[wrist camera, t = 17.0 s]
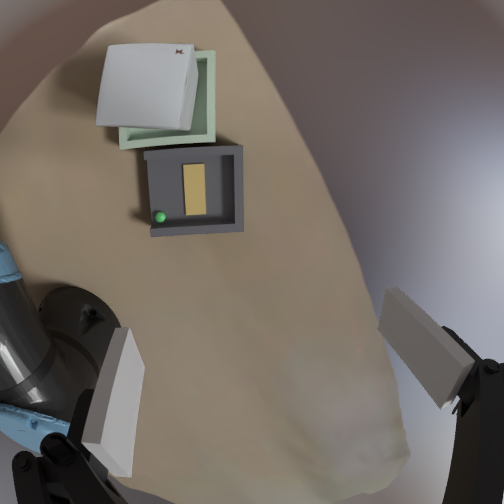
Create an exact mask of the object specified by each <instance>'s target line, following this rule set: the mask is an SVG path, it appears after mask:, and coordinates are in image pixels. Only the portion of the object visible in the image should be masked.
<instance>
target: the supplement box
mask: <svg viewBox="0 0 504 504" xmlns="http://www.w3.org/2000/svg"><path fill="white" fill-rule="evenodd" d="M198 77H199V75H198V69H197V62H196V56H195V49H194V44H181V43H140V44H118V45H109V46H108V49H107V53H106V58H105V62H104V67H103V72H102V78H101V84H100V90H99V97H98V104H97V112H96V121H95V126H107V127H125V128H140V129H163V130H184V131H188V130H190V129H191V123H192V116H193V110H194V104H195V97H196V90H197V83H198Z"/></svg>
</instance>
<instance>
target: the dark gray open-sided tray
mask: <svg viewBox="0 0 504 504" xmlns="http://www.w3.org/2000/svg"><path fill="white" fill-rule="evenodd" d="M144 160H147V169H148V184H149V197H150V208H151V218H152V226H151V228H150V234H151V237H159V236H175V235H191V234H208V233H227V232H244V205H243V146H242V145H216V146H195V147H180V148H167V149H155V150H148V151H144Z"/></svg>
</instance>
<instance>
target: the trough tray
mask: <svg viewBox="0 0 504 504" xmlns="http://www.w3.org/2000/svg"><path fill="white" fill-rule="evenodd" d="M195 56H196V62H197V69H198V75H199V77H198V83H197V90H196V97H195V104H194V110H193V116H192V123H191V129H190V130H188V131H184V130H163V129H140V128H125V127H119V146H120V150H123V149H131V148H139V147H149V146H159V145H170V144H184V143H201V142H215V50H210V51H195Z"/></svg>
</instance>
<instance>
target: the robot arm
mask: <svg viewBox="0 0 504 504" xmlns="http://www.w3.org/2000/svg"><path fill="white" fill-rule="evenodd" d="M22 277H23V276H22V273H21V272H20V271H19V270H18V268H17V265H16V263H15V261H14V259H13V257H12V254H11V252H10V249H9V248H8V246H7V245H6V244H5V243H4V242H3V241H1V240H0V430H1V431H2V432H3V433H4V434H5V435H7V436H8V437H9V438H11V439H12V440H14V441H16V442H17V443H19V444H21V445H23V446H24V447H27V448H29V449H31V450H33V451H36V452H38V453H41V454H42V455H43V457H35V456H34V455H33V454H32V453H31V452H28V451H21V452H19V453H17V454H16V455H15V456H14V458H13V461H12V471H13V477H14V485H15V491H16V496H17V501H18V504H128V503H127V502H126V501H125V499H124V498H123V497H122V496H121V494H120V493H119V492H118V491H117V489H116V488H115V487H114V485H113V484H112V483H111V482H110V480H109V479H108V478H107V474H108V471H109V472H110V473H111V474H112V475H113V476H119V477H131V476H132V463H133V452H134V443H135V434H136V425H137V417H138V410H139V403H140V396H141V389H142V383H143V377H144V371H145V366H144V364H143V361H142V359H141V356H140V354H139V351H138V349H137V346H136V343H135V341H134V338H133V335H132V332H131V330H130V327H122V328H121V326H120V323H119V321H118V319H117V317H116V316H115V314H114V313H113V311H112V310H111V309H110V308H109V307H108V306H107V305H106V304H105V303H104V302H103V301H102V300H101V299H99V298H98V297H96V296H95V295H93V294H91V293H89V292H87V291H85V290H82V289H79V288H74V287H61V288H58V289H55V290H53V291H52V292H50V293H49V294H48V295H47V296H46V298H45V299H44V300H43V302H42V303H41V304H40V307H39V309H38V311H37V309H36V307H35V305H34V303H33V301H32V299H31V297H30V295H29V293H28V290H27V288H26V286H25V284H24V282H23V279H22ZM378 330H379V332H380V333H381V334H382V335H383V336H384V338H385V339H386V340H387V341H388V342H389V344H390V345H391V346H392V348H393V349H394V350H395V351H396V352H397V354H398V355H399V356H400V358H401V359H402V360H403V361H404V363H405V364H406V365H407V366H408V368H409V369H410V370H411V372H412V373H413V374H414V375H415V377H416V378H417V379H418V380H419V382H420V383H421V384H422V386H423V387H424V388H425V390H426V391H427V392H428V394H429V395H430V396H431V397H432V399H433V400H434V402H435V403H436V404H437V406H438V407H439V408H440V410H441V409H443V408H444V407H446V406H448V405H450V404H452V402H453V401H454V399H455V397H456V396H457V395H458V396H459V398H460V400H459V402H458V403H457V405H456V407H455V408H454V409H453V412H452V414H454V413H455V411H456V410H457V409H458V410H457V423H456V432H455V440H454V448H453V454H452V460H451V466H450V472H449V477H448V482H447V486H446V490H445V494H444V499H443V502H442V504H502V500H503V493H504V363H500V364H499V363H498V362H496V361H494V360H492V359H484V360H482V359H481V358H480V357H479V356H478V355H477V354H476V353H475V352H474V351H473V350H472V349H471V348H470V347H469V346H468V345H467V344H466V343H464V341H463V340H462V339H461V338H459V336H458V335H457V334H456V333H455V332H454V331H453V330H451V329H449V328H447V327H445V326H442V327H440V326H439V325H438V324H437V323H436V322H435V321H434V320H433V319H432V318H431V317H430V316H429V315H428V314H427V313H426V312H425V311H423V310H422V309H421V308H420V307H419V306H418V305H417V304H416V303H415V302H414V301H413V300H411V299H410V298H409V297H408V296H407V295H406V294H405V293H404V292H403V291H401V290H400V289H399V288H398V287H397V286H395V287H391V288H386V289H385V294H384V300H383V306H382V311H381V316H380V321H379V326H378Z"/></svg>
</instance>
